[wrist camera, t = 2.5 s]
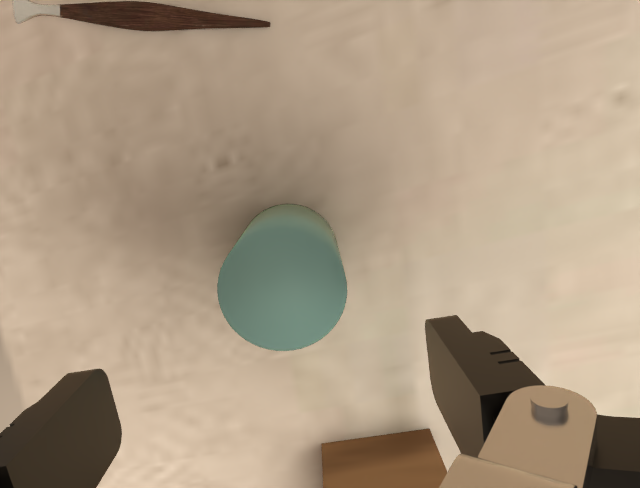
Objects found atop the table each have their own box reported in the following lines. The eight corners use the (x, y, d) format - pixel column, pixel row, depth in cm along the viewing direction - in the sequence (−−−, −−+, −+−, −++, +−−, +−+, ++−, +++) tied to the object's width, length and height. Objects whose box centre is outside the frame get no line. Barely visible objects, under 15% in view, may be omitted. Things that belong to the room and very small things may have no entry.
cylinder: (232, 211, 22) (205, 238, 17) (330, 197, 22) (337, 218, 16) (250, 303, 23) (230, 358, 18) (343, 290, 23) (354, 341, 18)
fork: (270, 58, 21) (266, 50, 19) (-87, 35, 21) (-128, 24, 19) (272, -5, 21) (268, -19, 19) (-95, -30, 20) (-139, -47, 18)
